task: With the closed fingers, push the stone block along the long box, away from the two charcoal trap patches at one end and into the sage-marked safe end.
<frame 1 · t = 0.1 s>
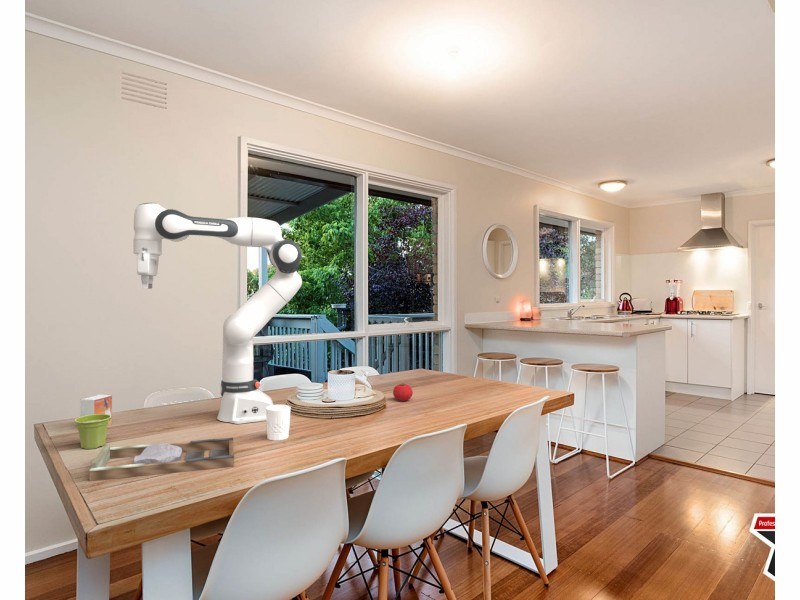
hand: (147, 288, 169), 48 cm above the table, tool pointing down, fingers open, 8 cm apart
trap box: (168, 462, 134), on the table
stone block: (160, 464, 133), on the table
small box: (96, 428, 165), on the table
tomato: (402, 401, 214), on the table
white cup: (277, 438, 157), on the table
plant pot: (92, 446, 145), on the table
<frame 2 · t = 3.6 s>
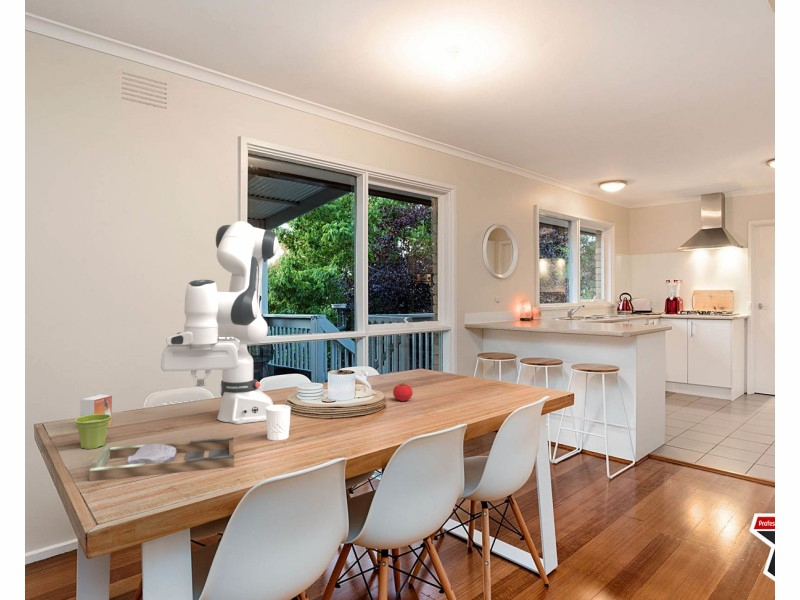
hand: (200, 385, 136), 21 cm above the table, tool pointing down, fingers closed
stone block: (154, 464, 133), on the table
everything else where it was.
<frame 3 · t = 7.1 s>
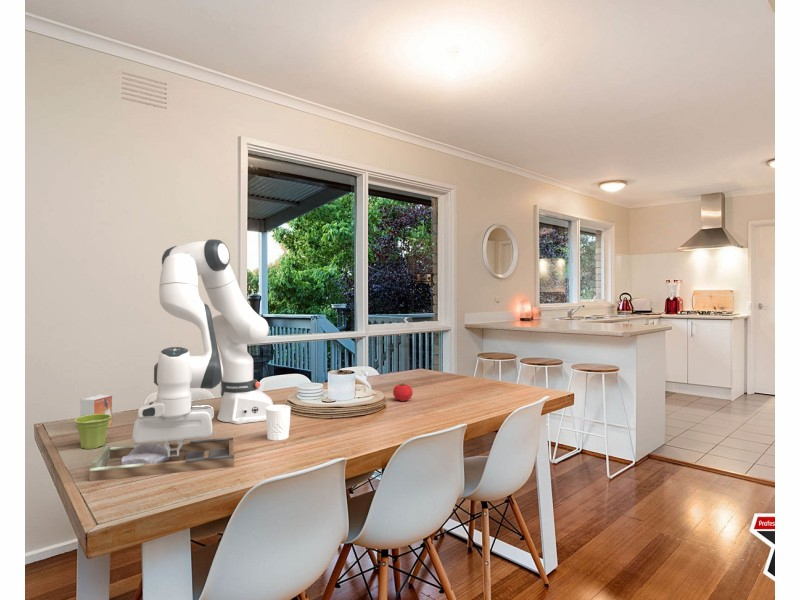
hand: (173, 455, 134), 2 cm above the table, tool pointing down, fingers closed
stone block: (148, 464, 133), on the table, touching gripper
everything else where it was.
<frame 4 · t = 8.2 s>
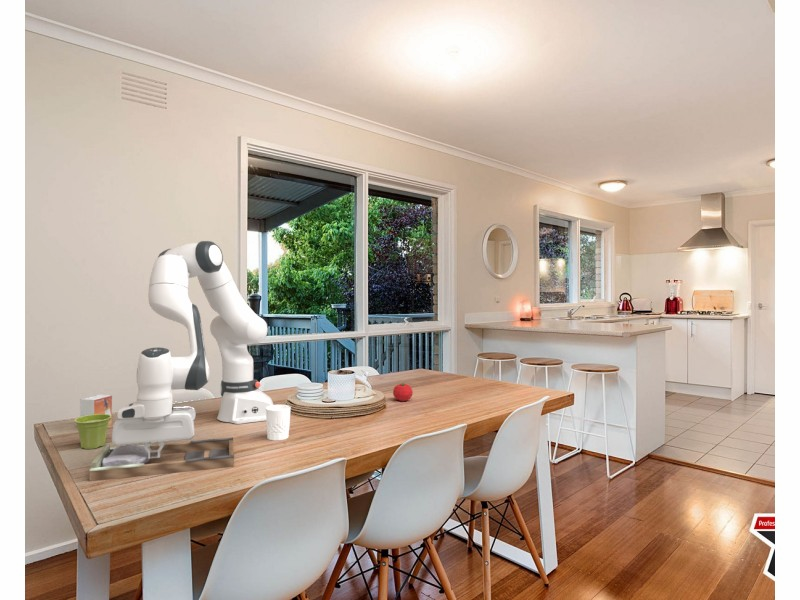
hand: (154, 457, 132), 2 cm above the table, tool pointing down, fingers closed
stone block: (129, 466, 131), on the table, touching gripper
everything else where it was.
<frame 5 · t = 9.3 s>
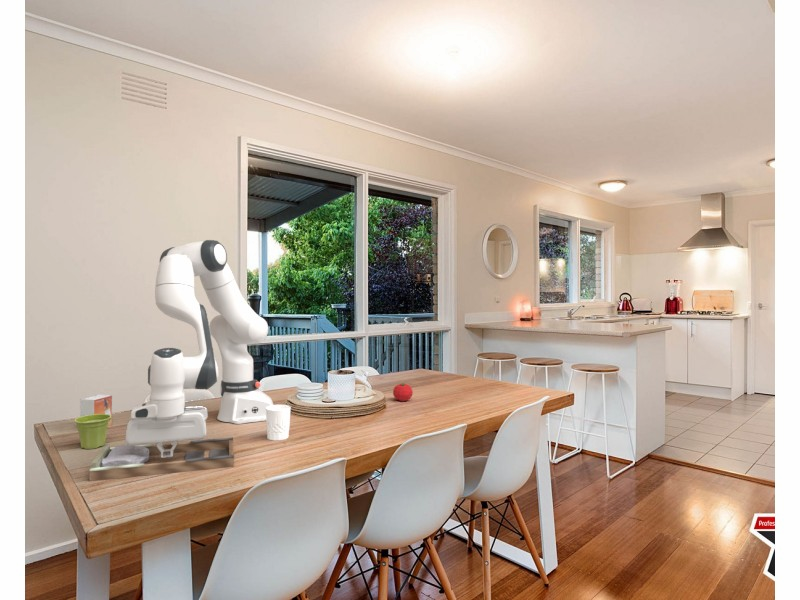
hand: (167, 456, 134), 1 cm above the table, tool pointing down, fingers closed
stone block: (127, 466, 131), on the table
everything else where it was.
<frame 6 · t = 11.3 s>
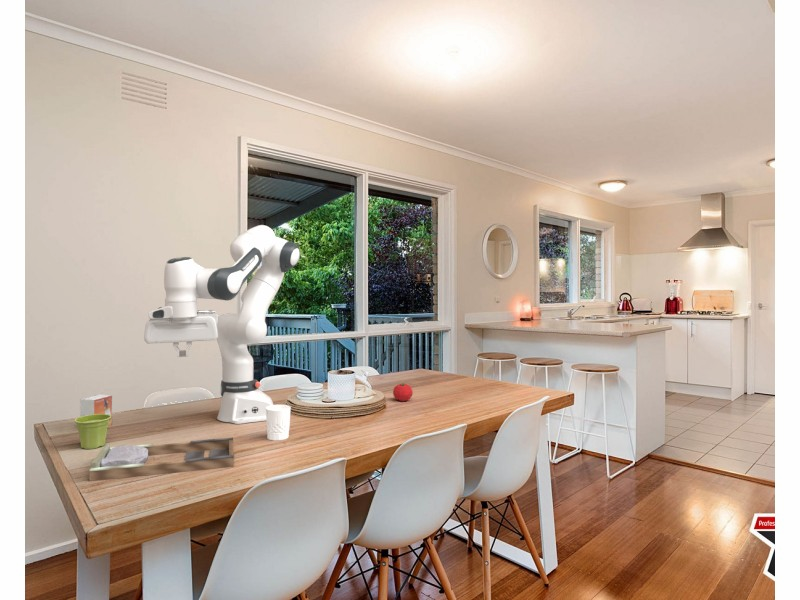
hand: (183, 356, 146), 28 cm above the table, tool pointing down, fingers closed
nothing on the table moved.
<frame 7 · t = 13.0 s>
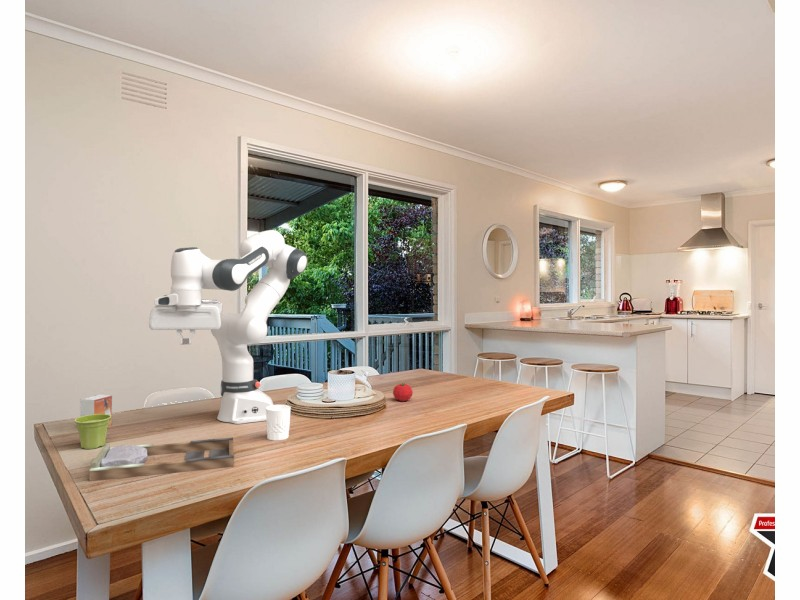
hand: (185, 344, 148), 31 cm above the table, tool pointing down, fingers closed
nothing on the table moved.
at the end: stone block 1.5 cm from the target spot, on the table; stone block tilted 0°; the gripper is holding nothing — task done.
